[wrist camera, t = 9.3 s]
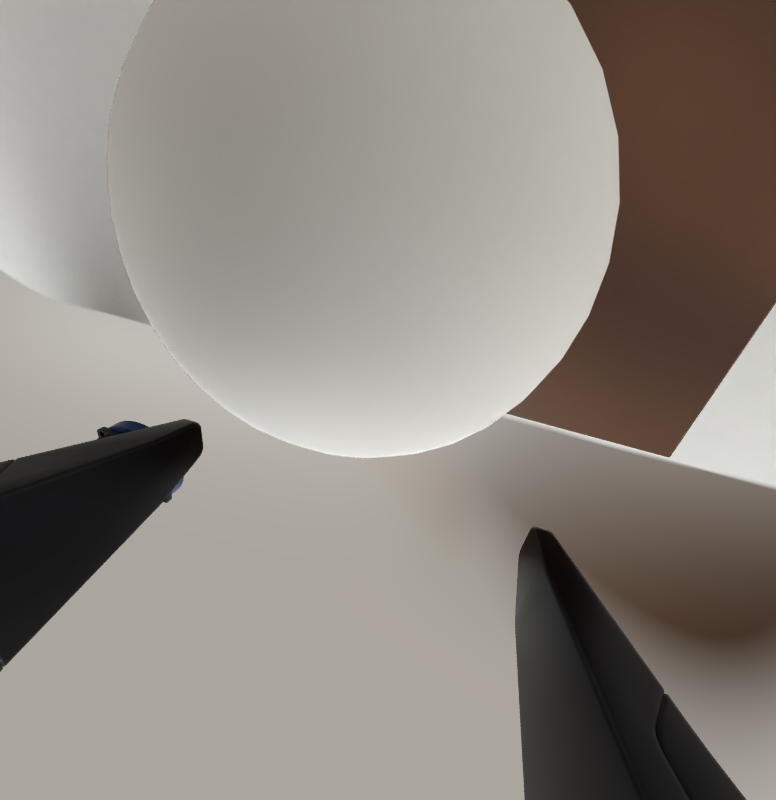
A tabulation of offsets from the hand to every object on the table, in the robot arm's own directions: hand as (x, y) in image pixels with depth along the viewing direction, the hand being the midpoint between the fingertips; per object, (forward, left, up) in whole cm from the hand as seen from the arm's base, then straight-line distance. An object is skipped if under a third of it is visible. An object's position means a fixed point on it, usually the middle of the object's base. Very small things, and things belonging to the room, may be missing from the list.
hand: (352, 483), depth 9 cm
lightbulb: (+6, 0, -7) cm, 9 cm away
